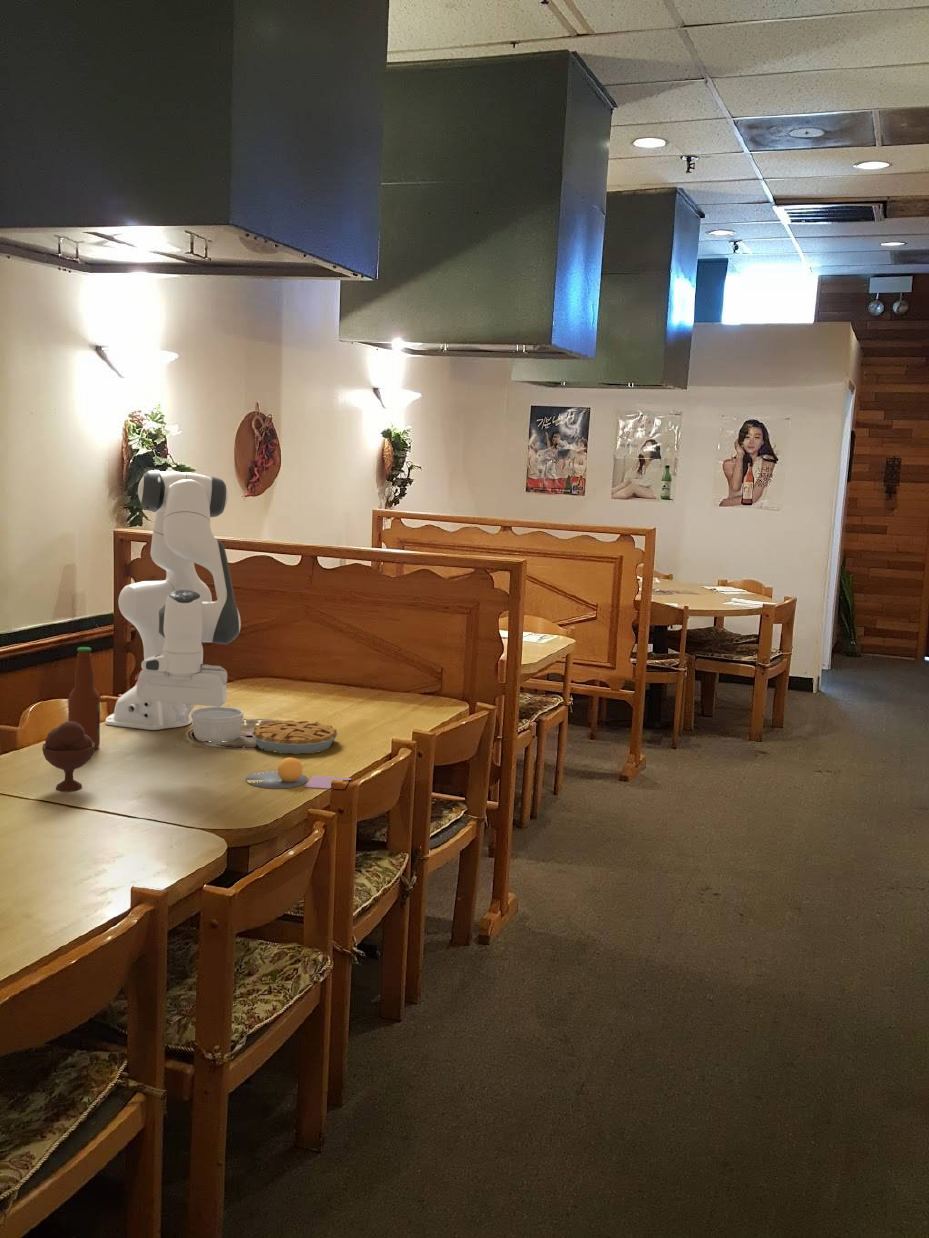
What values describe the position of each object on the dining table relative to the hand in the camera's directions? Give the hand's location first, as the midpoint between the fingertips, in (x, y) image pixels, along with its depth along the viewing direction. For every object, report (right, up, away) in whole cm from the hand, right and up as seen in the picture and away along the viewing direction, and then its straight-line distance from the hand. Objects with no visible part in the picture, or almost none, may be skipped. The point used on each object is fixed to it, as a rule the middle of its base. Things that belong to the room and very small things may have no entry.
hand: (181, 721), depth 254 cm
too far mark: (+34, -14, -1) cm, 37 cm away
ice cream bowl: (-21, -13, -13) cm, 28 cm away
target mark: (+22, -13, 0) cm, 26 cm away
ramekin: (0, -8, +35) cm, 36 cm away
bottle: (-29, -8, +19) cm, 36 cm away
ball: (+25, -11, -1) cm, 27 cm away
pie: (+21, -9, +32) cm, 39 cm away
